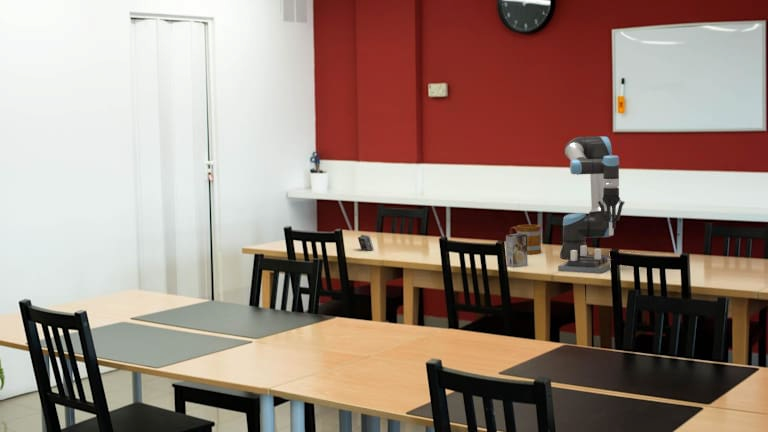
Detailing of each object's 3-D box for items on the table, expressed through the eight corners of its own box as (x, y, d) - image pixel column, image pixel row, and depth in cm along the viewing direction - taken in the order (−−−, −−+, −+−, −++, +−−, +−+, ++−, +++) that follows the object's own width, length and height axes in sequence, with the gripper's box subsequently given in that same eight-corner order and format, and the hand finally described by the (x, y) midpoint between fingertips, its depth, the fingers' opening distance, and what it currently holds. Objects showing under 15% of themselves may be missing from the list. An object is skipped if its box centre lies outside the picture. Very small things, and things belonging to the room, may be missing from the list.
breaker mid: (596, 258, 510) (596, 248, 510) (601, 258, 509) (601, 248, 508) (594, 259, 508) (594, 249, 507) (599, 259, 506) (599, 249, 506)
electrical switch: (374, 250, 588) (372, 235, 586) (366, 252, 585) (364, 236, 583) (366, 248, 596) (364, 233, 594) (358, 250, 593) (356, 235, 592)
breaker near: (572, 259, 508) (572, 249, 507) (577, 260, 507) (577, 250, 506) (570, 260, 505) (570, 250, 504) (575, 261, 504) (575, 251, 503)
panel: (574, 262, 528) (574, 254, 527) (616, 264, 517) (616, 256, 517) (558, 271, 505) (558, 262, 504) (601, 273, 495) (601, 264, 494)
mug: (546, 252, 563) (546, 225, 562) (531, 255, 554) (531, 228, 552) (517, 249, 577) (517, 223, 576) (502, 252, 568) (502, 225, 566)
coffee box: (520, 263, 530) (520, 232, 528) (527, 265, 524) (527, 234, 522) (505, 265, 525) (505, 234, 523) (513, 267, 520) (512, 235, 518)
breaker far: (582, 255, 522) (582, 245, 521) (586, 255, 520) (586, 245, 520) (580, 255, 519) (580, 246, 518) (585, 256, 518) (585, 246, 517)
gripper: (595, 187, 501) (596, 235, 503) (622, 188, 494) (622, 236, 497) (600, 186, 507) (600, 233, 510) (626, 186, 501) (626, 234, 504)
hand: (611, 235), depth 503 cm, fingers closed
